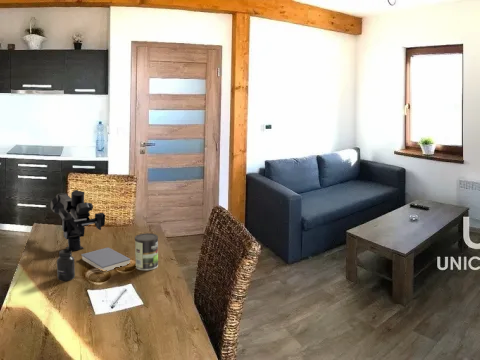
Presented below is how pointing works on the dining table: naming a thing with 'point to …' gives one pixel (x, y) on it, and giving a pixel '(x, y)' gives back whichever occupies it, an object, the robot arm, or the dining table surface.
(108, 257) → the book
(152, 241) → the coffee can
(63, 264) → the supplement bottle
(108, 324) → the dining table surface
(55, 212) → the robot arm
